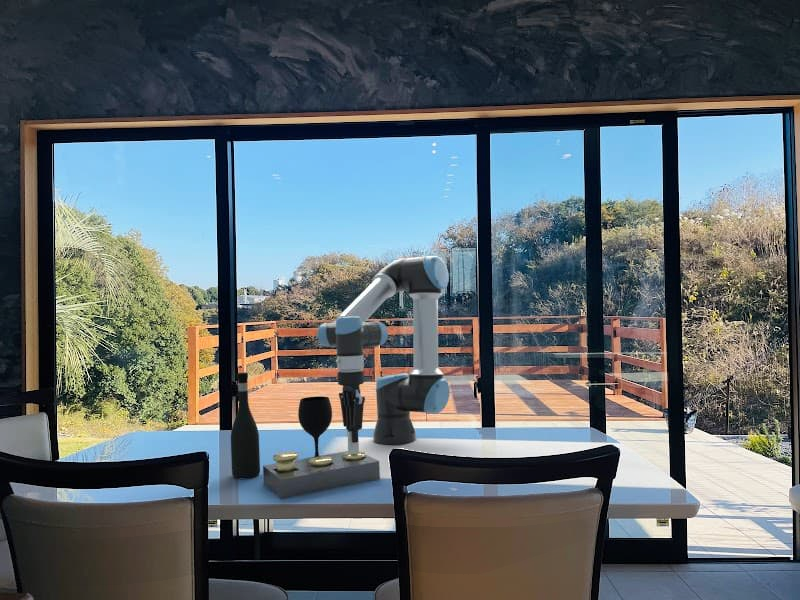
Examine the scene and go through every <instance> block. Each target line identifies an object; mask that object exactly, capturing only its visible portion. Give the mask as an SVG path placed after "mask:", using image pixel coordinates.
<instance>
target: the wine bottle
mask: <svg viewBox="0 0 800 600" xmlns="http://www.w3.org/2000/svg"><path fill="white" fill-rule="evenodd" d="M236 375H237V376H236V378H237V387H238V391H237V392H238V407H237V412H236V415H235V418H234V421H233V423H232V428H231V430H230V431H231V433H230V456H231V458H230V459H231V474H232V477H233V478H234V479H238V478H247V479H252V478H255V477H257V476H258V475H260V473H261V459H260V458H261V454H260V452H261V451H260V434H259V430H258V429H259V428H258V426H257V423H256V421H255V419H254V417H253V414H252V412H251V409H250V405H249V404H250V403H249V388H248V385H249V384H248V381H249V380H248V378H249V375H248V372H245V371H244V372H238V373H236Z"/></svg>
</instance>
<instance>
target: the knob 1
mask: <svg viewBox="0 0 800 600" xmlns="http://www.w3.org/2000/svg"><path fill="white" fill-rule="evenodd" d="M298 457H299V455H298V452H296V451H283V452H282V451H281V452H277V453H274V454H273V457H272V459H273V461H274V462H276V463H277V473H279V474H282V473H287V472H292V471H295V460H298Z"/></svg>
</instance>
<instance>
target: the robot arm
mask: <svg viewBox="0 0 800 600" xmlns="http://www.w3.org/2000/svg"><path fill="white" fill-rule="evenodd" d="M449 275H450V274H449V271H448V268H447V264H446V263H445V261H444V260H443V259H442V258H441V257H440V256H437V255H423V256H416V257H415V256H414V257H403V258H399V259H396V260H394V261H392V262H390V263H389V264H387V265H386V266H385V267H383V268H382V269H381V270H379V271H378V272H377V273H376V274H375V275H374V276H373V277H372V278H371V279H372V280H371V283H370V284H369V285H368V286H367V287H366V288H365V289H364V290H363V291H362V292H361V293H360V294H359V295H358V296H357V297H356V298H355V299H354V300H353V301H352V302H350V304H349V305H348V306H347V307H346V308H345V309H344V310H343V311H342V312H341V313H340V314H339V315H338V316H337V317H336V318H335V319H334V320H333V321H332V322H324V323H322V324H320V325H319V326H318V329H317V332H316V336H317V337H316V338H317V340H318V343H319V344H320V345H321V346H322V347H329V348H336V360H335V363H336V365H337V366H336V368H337V370H338V371H337V373H336V374H337V384H338V386H342V388H341V389H342V392H339V393H338V397H339V401H340V408H341V409H340V410H341V414H342V415H341V416H342V423H343V427H345V429H346V431H347V451H348V454H356V453H359V451H360V445H359V431H360V430H362V429H363V420H364V419H363V418H364V405H365V400H366V397H365V396H362V395H361V388H360V386H361V385H363V384H364V383H365V375H364V370H363V369H364V367H365V366H364V365H365V364H364V349H363V348H365V349H366V348H372V347H374V348H377V347H379V346H383V345H384V344H385V343H386V342H387V340H388V336H389V332H388V328H387V326H386V325H385V324H384V323H383V322H381V321H373V320H372V321H367V320H368V319H370V317H371V316H372V315H373V314H374V313H375V312H376V311H377V309H379V307H381V306H382V304H384V302H385V301H387V299H390V298H392V297H393V296H394V295H396V294H397V293H400V292H405V291H408V295H409V297H410V298H411V299H412V303H413V304H412V305H413V307H412V308H413V309H412V310H413V311H412V312H413V314H412V316H413V318H412V319H413V320H412V321H413V324H412V325H413V326H412V327H413V328H412V329H413V334H412V335H413V336H412V337H413V341H412V342H413V343H412V344H413V345H412V346H413V351H412V352H413V354H412V355H413V367H412V368H413V369H412V370H410V372H409V373H397V374H391V375H390V374H389V375H385V376H379V377H378V378H377V379H376V388H375V394H376V411H377V412H376V413H377V414H376V415H377V420H376V423H375V427H374V430H373V433H372V434H373V435H372V439H373V442H374V443H376V444H380V445H402V444H407V443H411V442H414V441H415V440H416V439H417V437H416V431H415V427H414V424H413V422H412V419H411V415H410V413H411V412H412V413H423V414H424V413H425V414H439V413H441V412H442V411H444V409H445V408H446V406H447V405H448V402H449V397H450V394H451V393H450V392H451V391H450V385H449V382H448V380H446V379H445V378H443V376H444V374H443V372H442V371H441V370H440V368H439V304H438V303H439V299H440V298H441V297H442V295H443V290H444V289H446V288H447V287H448V286H449V285H448V283H449V281H450V280H449V279H450V277H449Z"/></svg>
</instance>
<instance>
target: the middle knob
mask: <svg viewBox="0 0 800 600" xmlns="http://www.w3.org/2000/svg"><path fill="white" fill-rule="evenodd" d="M320 456H321V457H315V456H313V457H314V458H311V459H310V460H309V464H310V465H311V466H314V467H320V466H326V465H330V464H332V463H333V458H332V457H327V456H322V455H320Z"/></svg>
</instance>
